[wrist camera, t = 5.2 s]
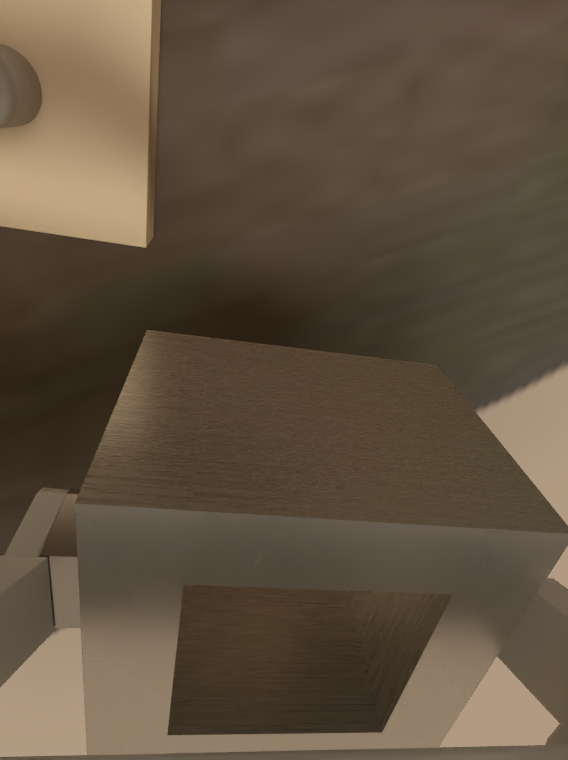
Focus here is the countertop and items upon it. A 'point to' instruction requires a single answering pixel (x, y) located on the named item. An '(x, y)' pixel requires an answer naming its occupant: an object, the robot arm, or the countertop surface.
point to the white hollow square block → (296, 552)
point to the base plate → (79, 117)
